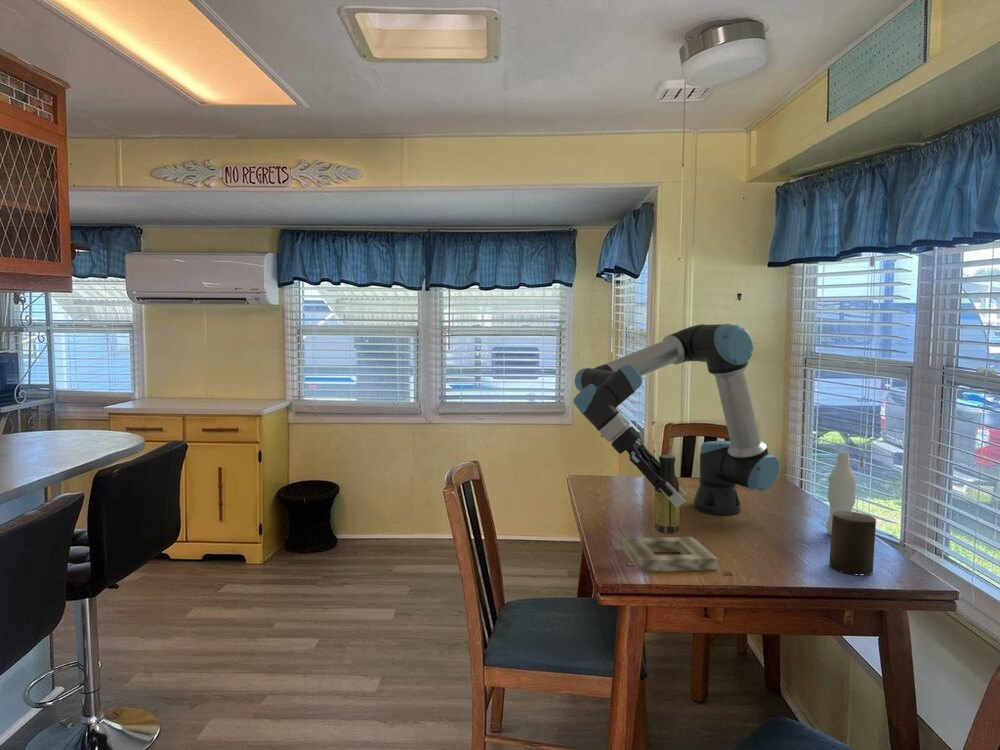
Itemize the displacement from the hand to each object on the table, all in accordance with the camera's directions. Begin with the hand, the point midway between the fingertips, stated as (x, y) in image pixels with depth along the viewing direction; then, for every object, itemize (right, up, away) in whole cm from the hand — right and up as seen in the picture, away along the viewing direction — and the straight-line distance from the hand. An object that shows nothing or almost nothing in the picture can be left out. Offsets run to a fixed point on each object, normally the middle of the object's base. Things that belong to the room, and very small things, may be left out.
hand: (681, 500), depth 158 cm
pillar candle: (+43, -17, -2) cm, 46 cm away
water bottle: (+53, -15, +22) cm, 60 cm away
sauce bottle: (-4, -8, +2) cm, 9 cm away
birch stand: (-3, -16, +3) cm, 16 cm away
